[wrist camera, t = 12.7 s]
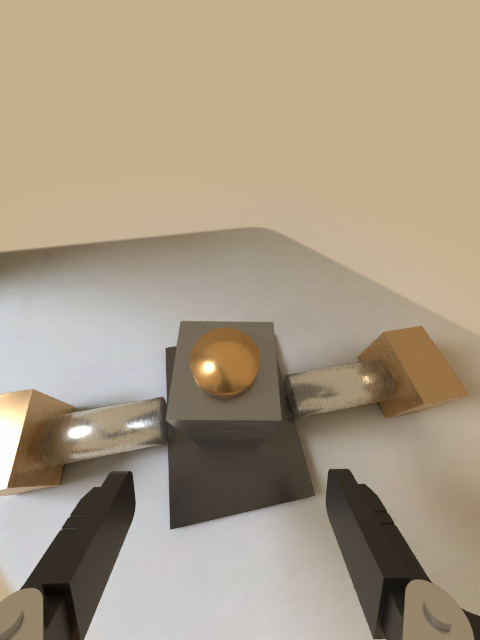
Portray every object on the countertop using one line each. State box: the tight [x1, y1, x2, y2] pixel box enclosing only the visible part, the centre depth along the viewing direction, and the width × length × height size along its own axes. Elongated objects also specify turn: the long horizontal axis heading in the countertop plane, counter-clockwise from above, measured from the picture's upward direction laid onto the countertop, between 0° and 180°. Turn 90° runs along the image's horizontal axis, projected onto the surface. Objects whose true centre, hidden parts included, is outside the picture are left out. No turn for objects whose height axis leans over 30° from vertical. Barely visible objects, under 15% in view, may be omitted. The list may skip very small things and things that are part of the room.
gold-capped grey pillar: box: [166, 321, 282, 445], centre depth 14 cm, size 4×4×10 cm
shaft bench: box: [0, 326, 468, 530], centre depth 17 cm, size 29×12×4 cm, turn 100°
